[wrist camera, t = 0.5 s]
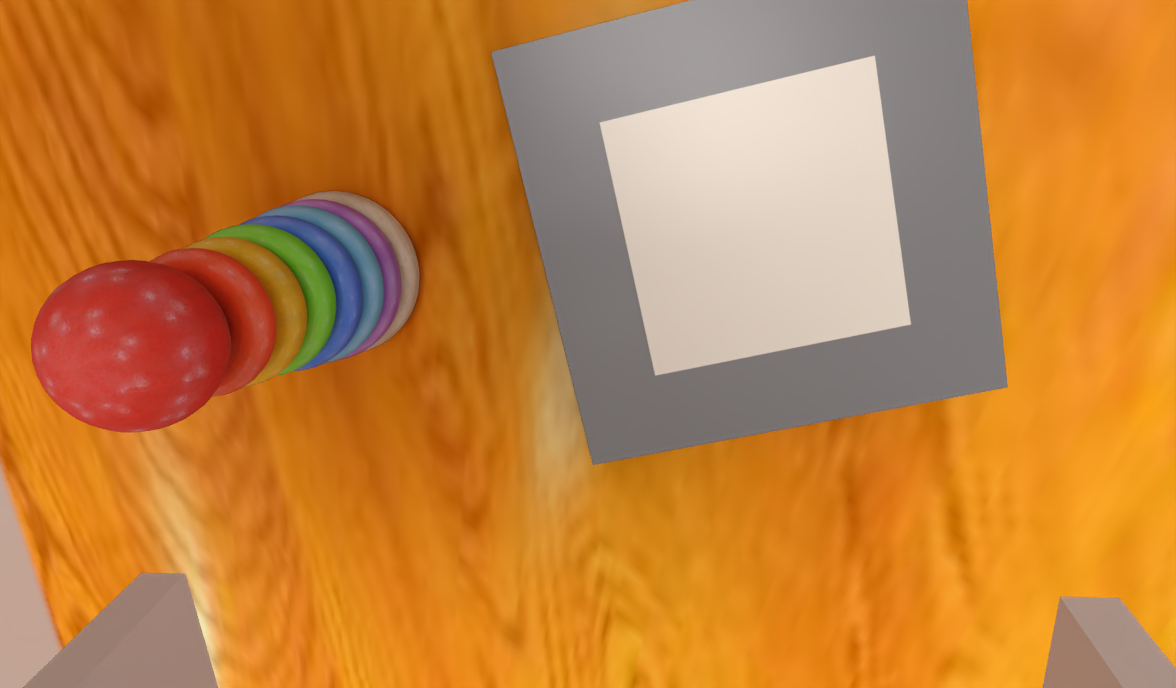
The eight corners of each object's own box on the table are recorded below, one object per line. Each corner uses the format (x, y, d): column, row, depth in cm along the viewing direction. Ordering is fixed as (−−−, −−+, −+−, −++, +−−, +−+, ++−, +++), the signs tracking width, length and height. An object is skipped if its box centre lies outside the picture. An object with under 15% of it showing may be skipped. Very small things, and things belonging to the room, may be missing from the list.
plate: (497, 55, 35) (490, 51, 34) (945, -61, 33) (961, -71, 31) (594, 453, 40) (592, 466, 38) (993, 377, 38) (1009, 388, 36)
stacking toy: (457, 268, 38) (289, 384, 20) (357, 378, 40) (122, 575, 22) (334, 154, 37) (41, 169, 19) (238, 272, 39) (-113, 388, 21)
